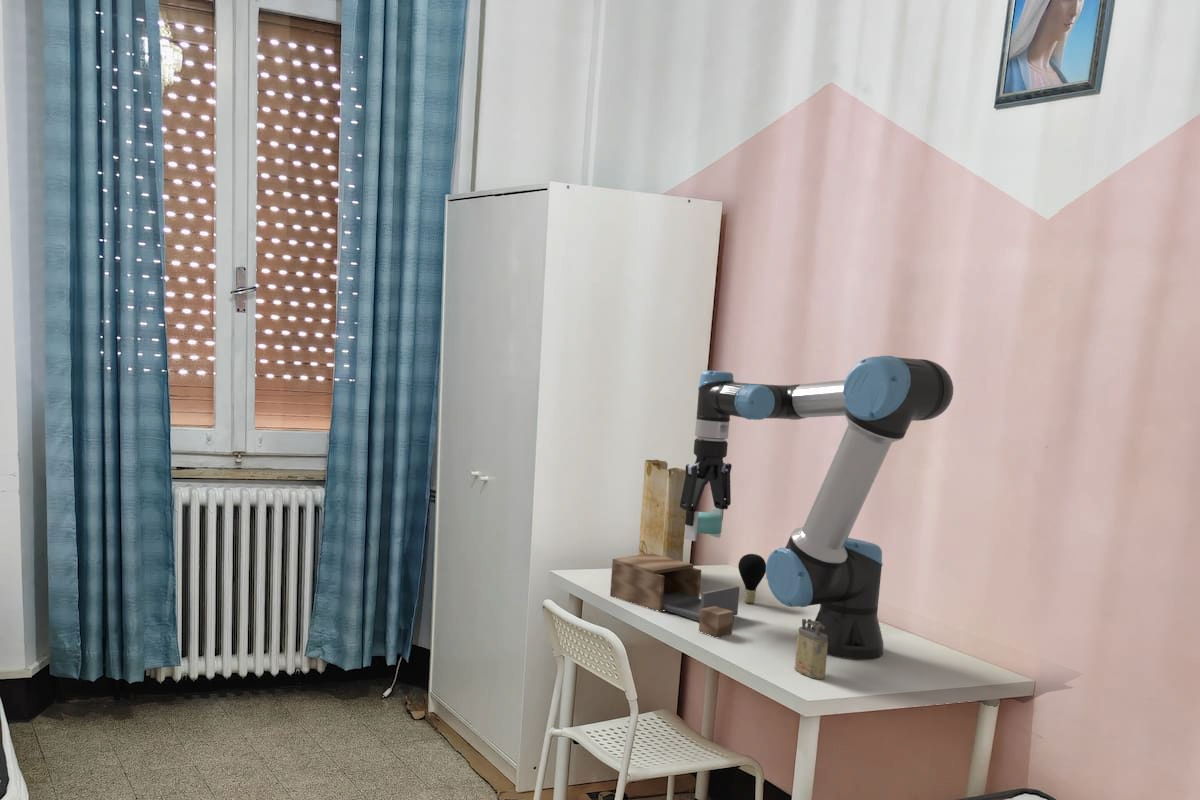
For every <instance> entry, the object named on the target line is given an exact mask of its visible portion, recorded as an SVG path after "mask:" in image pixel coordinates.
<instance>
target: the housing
mask: <svg viewBox="0 0 1200 800" xmlns="http://www.w3.org/2000/svg"><path fill="white" fill-rule="evenodd" d="M611 564H612V565H611V576H610V577H611V579H610V591H609V597H612V598H615V597H616V598H615V599H618V598H619V600H621V599H622V601H624V600H625V601H624V602H627V601H628V603H630V602H632V603H631V604H634V603H635V604H634V605H637V604H638V605H637V606H640V605H641V606H640V607H643V606H644V607H643V608H646V607H648V608H647V609H649V608H650V609H649V610H652V609H654V610H653V611H655V610H658V611H661V612H664V611H663V609H662V604H663V595H665V594H670V593H675V592H680V593H683V594H686V595H690V596H693V597H696V598H700V593H701V592H700V591H701V580H702V578H701V577H702V569H699V568H695V567H694V563H693V564H692V563H689V562H685V561H679V560H675V559H671V558H668V557H664V556H660V555H657V554H653V553H651V554H644V555H631V556H624V557H617V558H612V563H611ZM658 611H657V612H658Z"/></svg>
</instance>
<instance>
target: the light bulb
mask: <svg viewBox="0 0 1200 800" xmlns="http://www.w3.org/2000/svg"><path fill="white" fill-rule="evenodd" d="M738 561H739V562H738V571H739V574H740V577H741V579H742V582H743V585H744V587H745V588H744V593H745V594H744V600H743V601H745V603H747V604H754V603H755V601H756V596H757V595H756V593H757V587H758V586H759V585H760V583H761V582H762V581H763V579H764V577H765V576H766V563H767V562H766V561H765V559H764V558H763V557H762V556H761V555H759V554H757V553H747V554H745V555H743V556H742V557H741V558H740V560H738Z"/></svg>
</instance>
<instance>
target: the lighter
mask: <svg viewBox="0 0 1200 800" xmlns="http://www.w3.org/2000/svg"><path fill="white" fill-rule="evenodd" d="M806 625H807V626H806ZM812 626H813V628H814V629H813V628H812ZM820 628H821V629H824V628H825V626H824V625H822V624H821V622H819V621H815V620H812V619H810V618H809V619H806V618H802V619H801V626H800V627H798V632H797V637H796V648H795V649H796V650H795V661H794V667H793V668H794V670H795V671H796V672H799V673H800V675H805V676H807V677H808V678H811V679H818V680H823V679H826V669H827V658H828V657H827V656H828V654H827V647H828V641H827V638H828V636H827V635H826V634H824V633H822V632H820V631H819V629H820Z"/></svg>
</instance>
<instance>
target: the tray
mask: <svg viewBox="0 0 1200 800" xmlns="http://www.w3.org/2000/svg"><path fill="white" fill-rule="evenodd" d="M739 597H740V586H737V585H736V586H735V585H734V586H730V587H725V588H720V589H715V590H710V591H703V592H701V597H699V598H696V597H693V596H690V595H686V594H683V593H680V592H675V593H670V594H665V595H663V604H662V609H663V610H666V611H667V612H670V613H673V614H676V615H679V616H683V617H685V618H688V619H691V620H695V621H696V622H697V621H698V622H699V621H700V609H703V608H708V607H713V606H717V607H720V608H724V609H727V610H730V611H733V617H734V616H737V615H738V613H739V602H740V601H739V599H740V598H739ZM666 611H665V612H666Z"/></svg>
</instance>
